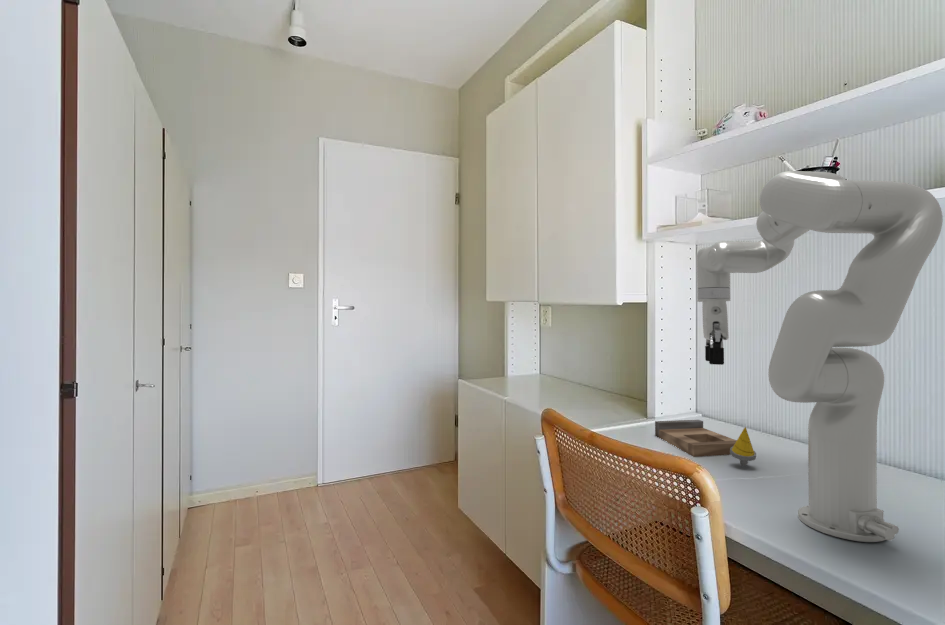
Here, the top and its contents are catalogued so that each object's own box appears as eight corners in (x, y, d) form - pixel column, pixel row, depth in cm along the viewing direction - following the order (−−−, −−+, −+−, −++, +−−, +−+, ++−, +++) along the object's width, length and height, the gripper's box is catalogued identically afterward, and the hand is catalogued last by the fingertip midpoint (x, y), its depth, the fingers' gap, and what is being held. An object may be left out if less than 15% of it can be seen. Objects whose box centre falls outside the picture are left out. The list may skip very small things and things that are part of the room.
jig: (743, 454, 119) (743, 435, 119) (693, 457, 117) (693, 437, 117) (698, 436, 137) (698, 419, 137) (655, 438, 135) (655, 421, 135)
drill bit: (748, 460, 113) (751, 422, 110) (759, 472, 107) (763, 432, 105) (724, 459, 113) (728, 421, 111) (735, 471, 108) (738, 432, 106)
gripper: (735, 293, 109) (736, 366, 108) (725, 296, 125) (726, 360, 124) (700, 294, 111) (700, 365, 111) (694, 297, 128) (695, 359, 127)
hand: (714, 362), depth 118 cm, fingers open, 9 cm apart
